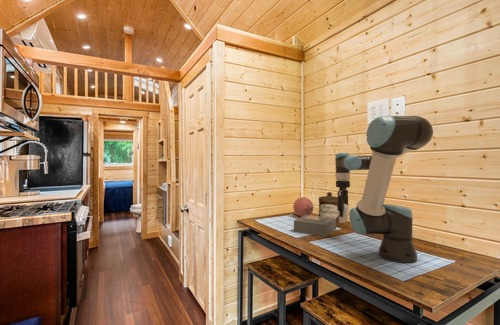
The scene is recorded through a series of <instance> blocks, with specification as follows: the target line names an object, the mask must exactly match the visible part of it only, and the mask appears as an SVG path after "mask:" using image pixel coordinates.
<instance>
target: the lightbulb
mask: <svg viewBox="0 0 500 325" xmlns="http://www.w3.org/2000/svg"><path fill="white" fill-rule="evenodd" d="M337 209H338V208H337ZM338 212H339V211H338ZM349 212H350V207H349V205H348V206H347V205H346V204H344V223H343V224H345V223H346V222H347V221H346V216H347V215H348V213H349Z"/></svg>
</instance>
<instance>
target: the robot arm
mask: <svg viewBox="0 0 500 325" xmlns="http://www.w3.org/2000/svg"><path fill="white" fill-rule="evenodd" d="M365 135H366V142H367V145H368V146H369V149H370V151H371V152H372V154H371V155H350V153H348V152H339V153H336V154H335V160H334V161H335V174H334V176H335V187H336V188H338V191H337V192H336V194H337V197H338V209H337V211H339V222H340V223H341V224H345V223H344V204H346V205H347V206H348V207H349V190H348V189H347V188H350V187H351V181H350V180H351V173H350V172H351V171H367V176H366V180H365V183H364V188H363V189H364V190H363V192H362V193H363V194H362V197H361V199H360V200H358V201H357V203H356V207H352V208H350V209H349V211H348V213H349V214H347V216H346V222H348V221H349V222H350V226H351V228H352V230H353V232H354V233H356V234H358V235H362V236H363V235H364V236H366V235H382V240H381V243H380V245H379V248H378V255H379V256H380V257H381V258H384V259H385V260H388V261H391V262H396V263H404V264H408V263H410V264H411V263H416V262H417V261H418V252H417V251H416V247H415V245H414V242H413V220H414V218H413V210H412V209H411V208H409V207H406V206H401V205H396V204H389V203H385V199H386V196H387V193H388V189H389V185H390V183H391V178H392V175H393V173H394V172H393V171H394V169H395V168H394V167H395V164H396V162H397V159H399V157H402V156H403V155H405V154H407V153H408V152H411V151H417V150H419V149H421V148H424V147H425V146H426V145H428V144H429V143H430V141H431V140H432V138H433V135H434V129H433V126H432V123H431V122H430V121H429V120H428V119H426V118H424V117H422V116H420V115H419V116H418V115H384V116H377V117H375V118H374V119H372V120H371V121H370V123H369V125H368V127H367V129H366V133H365ZM384 203H385V204H384ZM348 216H349V220H348Z"/></svg>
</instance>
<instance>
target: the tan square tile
mask: <svg viewBox="0 0 500 325" xmlns="http://www.w3.org/2000/svg"><path fill="white" fill-rule="evenodd" d="M312 215H313V214H310V216H308V217H306V218H304V220H308V221H316V222H322V221H324V220H325V219H326V217H320V216H319V215H313V216H312Z"/></svg>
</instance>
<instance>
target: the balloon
mask: <svg viewBox="0 0 500 325" xmlns="http://www.w3.org/2000/svg"><path fill="white" fill-rule="evenodd" d="M292 206H293V211H294V213H295V214H296V215H297V216H298V217H299V218H300V217H302V216H305V215H312V213H313V212H314V204H313V202H312V200H311V199H310V198H308V197H303V196H302V197H299V198H296V199H295V201H294V203H293V205H292Z"/></svg>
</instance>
